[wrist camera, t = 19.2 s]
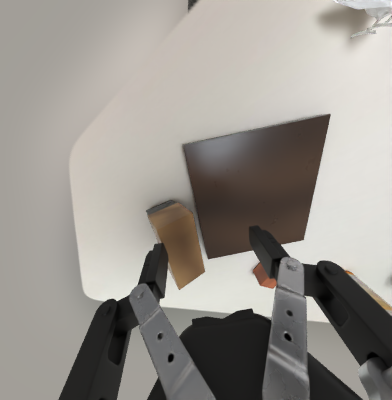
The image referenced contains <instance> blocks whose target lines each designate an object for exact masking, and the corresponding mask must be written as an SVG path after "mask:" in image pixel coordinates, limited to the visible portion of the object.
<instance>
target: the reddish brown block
mask: <svg viewBox="0 0 392 400" xmlns="http://www.w3.org/2000/svg"><path fill="white" fill-rule="evenodd" d="M253 272H254V274H255V276H256V278H257V280H258V282H259V284H260V286H264V287H268V288H272V289H273V288H274V287H275V286H276V283H277V282H276V280H275V279H269V277H268V275H267V273H266V272H265V270H264V268H263V266H262V265H261V263H259V264H258V265H257V266H256V268H255V269H254V270H253Z"/></svg>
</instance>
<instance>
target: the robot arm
mask: <svg viewBox="0 0 392 400" xmlns="http://www.w3.org/2000/svg"><path fill="white" fill-rule="evenodd" d="M249 242H250V245H251V247H252V249H253V250H254V252H255V254H256V256H257V258H258V259H259V261H260V263H261V265H262V266H263V268H264V270H265V272H266V273H267V275H268V277H269V279H275V280H276V282H277V283H276V290H275V297H274V304H273V310H272V317H271V320H269V319H268V318H266V317H264V316H262V315H259V314H255V313H253V310H252V309H246V310H240V311H236V312H235V313H233V314H231V315H229V316H227V317H225V318H223V319H220V318H213V317H202V318H196V319H192V325H191V326H189V327H188V328H186V329H185V330H184V331H183V332H182V334H181V335H180V336H179V337H178V335H177V333H176V332H175V330H174V328H173V327H172V325H171V323H170V322H169V320H168V318H167V317H166V315H165V313H164V312H163V310H162V308H161V307H160V305H159V302H160V299H162V298H164V297H165V288H166V279H167V270H168V261H169V257H168V253H167V250H166V248H165V245H164V243H158V244H155V245H154V248H153V250H152V251H149V253H148V254H147V256H146V258H145V262H144V265H143V269H142V272H141V276H140V279H139V282H138V285H137V286H136V287H135V288H134V289H133V290H132V291H131V293H130V295H128V296H127V297H125V298H123V299H121V300H119V301H116V300H115V299H109V300H107V301H105V302H104V303H102V305H100V307H99V308H98V309H97V311H96V313H95V315H94V318H93V320H92V322H91V325H90V327H89V329H88V332H87V334H86V336H85V339H84V341H83V343H82V346H81V348H80V350H79V353H78V355H77V358H76V360H75V362H74V365H73V367H72V370H71V371H70V374H69V376H68V379H67V381H66V384H65V386H64V388H63V390H62V393H61V395H60V397H59V400H117V396H118V391H119V387H120V382H121V377H122V372H123V367H124V363H125V358H126V353H127V348H128V344H129V339H130V335H131V330H132V329H133V328H134V327H136V326H138V325H140V327H139V329H140V332H141V335H142V337H143V340H144V342H145V344H146V347H147V349H148V352H149V354H150V357H151V359H152V362H153V364H154V367H155V369H156V372H157V374H158V379H157V381H156V383H155V385H154V387H153V389H152V391H151V393H150V395H149V397H148V399H147V400H363V399H362V398H360V397H359V396H358V395H357V394H356V393H355V392H354V391H353V390H351V389H350V388H349V387H348V386H347V385H345V384H344V383H343V382H342V381H341V380H340V379H338V378H337V377H336V376H335V375H334V374H333V373H332V372H330V371H329V370H328V369H327V368H326V367H325V366H323V365H322V364H321V363H320V362H319V361H318V360H317V359H315V358H314V357H313V356H312V355H311V354H310V353H308V352H307V308H306V297H304V295H305V296H311V297H313V298H314V300H315V301H316V303H317V304H318V305H319V307H320V308H321V310H322V311H323V313H324V314H325V316H326V317H327V318H328V320H329V321H330V323H331V324H332V325H333V327H334V328H335V330H336V331H337V333H338V334H339V336H340V337H341V338H342V340H343V341H344V343H345V344H346V346H347V347H348V349H349V350H350V351H351V353H352V354H353V356H354V357H355V359H356V360H357V362H358V363H359V365H360V367H359V371H358V373H359V378H360V381H361V383H362V385H363V387H364V388H365V390H366V392H367V394H368V397H369V400H392V316H391V315H390V314H389V313H388V312H387V311H386V310H385V309H384V308H383V307H382V306H381V305H380V304H379V303H378V302H377V301H376V300H375V299H373V298H372V297H371V296H370V295H369V294H368V293H367V292H366V291H365V290H364V289H363V288H362V287H361V286H360V285H359V284H358V283H357V282H356V281H355V280H354V279H353V278H352V277H351V276H350V275H349V274H348V273H347V272H345V271H344V270H343V269H342V268H341V267H340V266H339V265H337V264H335V263H333V262H330V261H319V262H318V263H317V265H310V264H303V263H300V262H299V261H298V260H296V259H294V258H291V257H290V256H289V255H288V254H287V252H286V251H285V250H284V249H283V247H282V246H281V245H280V244H279V243H278V242H277V240H276V239H275V238H274V236H273V235H272V234H271V233H270V232H268V231H267V230H262V229H261V228H260V227H259V226H258V225H255V226H250V227H249Z"/></svg>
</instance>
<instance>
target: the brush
mask: <svg viewBox="0 0 392 400" xmlns="http://www.w3.org/2000/svg"><path fill="white" fill-rule="evenodd" d="M146 212H147V215H148V218H149V221H150V223H151V226H152V228H153V231H154V233H155V236H156V239H157V241H158V243H164V245H165V248H166V250H167V253H168V257H169V261H168V269H169V271H170V273H171V275H172V277H173V279H174V281H175V283H176V285H177V287H178V289H179V290H180V289H182V288H183V287H184V286H186V285H187V284H189V283H190V282H191V281H193V280H194V279H196V278H197V277H198V276H200V275H201V274H203V273H204V272H205V269H204V264H203V259H202V255H201V250H200V245H199V241H198V236H197V231H196V227H195V222H194V217H193V213H192V212H191V211H189V210H188V209H187V208H185V207H184V206H183V205H181V204H180V203H175V202H173V201H172V200H170V201H168V202H166V203H163V204H161V205H158V206H156V207H153V208H151V209H148V210H146Z"/></svg>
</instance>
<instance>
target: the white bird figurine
mask: <svg viewBox="0 0 392 400" xmlns="http://www.w3.org/2000/svg"><path fill="white" fill-rule="evenodd" d="M333 2H336V3H339V4H342V5H345V6H348V7H351V8H354V9H365V10H366V13H367V14H369V15H370V16H372V17H376V20H377V21H376V22H375V23H374V24H373V26H372V27H369V28H367V30H366V31H361V32H358V33H356V34H354V35H352V36H351V38H352V37H355V36H357V35H362V34H376V31H374V30H372V29H373V28H378V27H383V26H392V23H388V22H389V21H390V20H391V19H392V16H391V17H390V18H389V19H388V20H387V21H386V22H385V23H381V24H377V23H378V22H379V21H380V20H381V19H382V18H384V17H386V16H387V15H390V14H392V0H335V1H333Z"/></svg>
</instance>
